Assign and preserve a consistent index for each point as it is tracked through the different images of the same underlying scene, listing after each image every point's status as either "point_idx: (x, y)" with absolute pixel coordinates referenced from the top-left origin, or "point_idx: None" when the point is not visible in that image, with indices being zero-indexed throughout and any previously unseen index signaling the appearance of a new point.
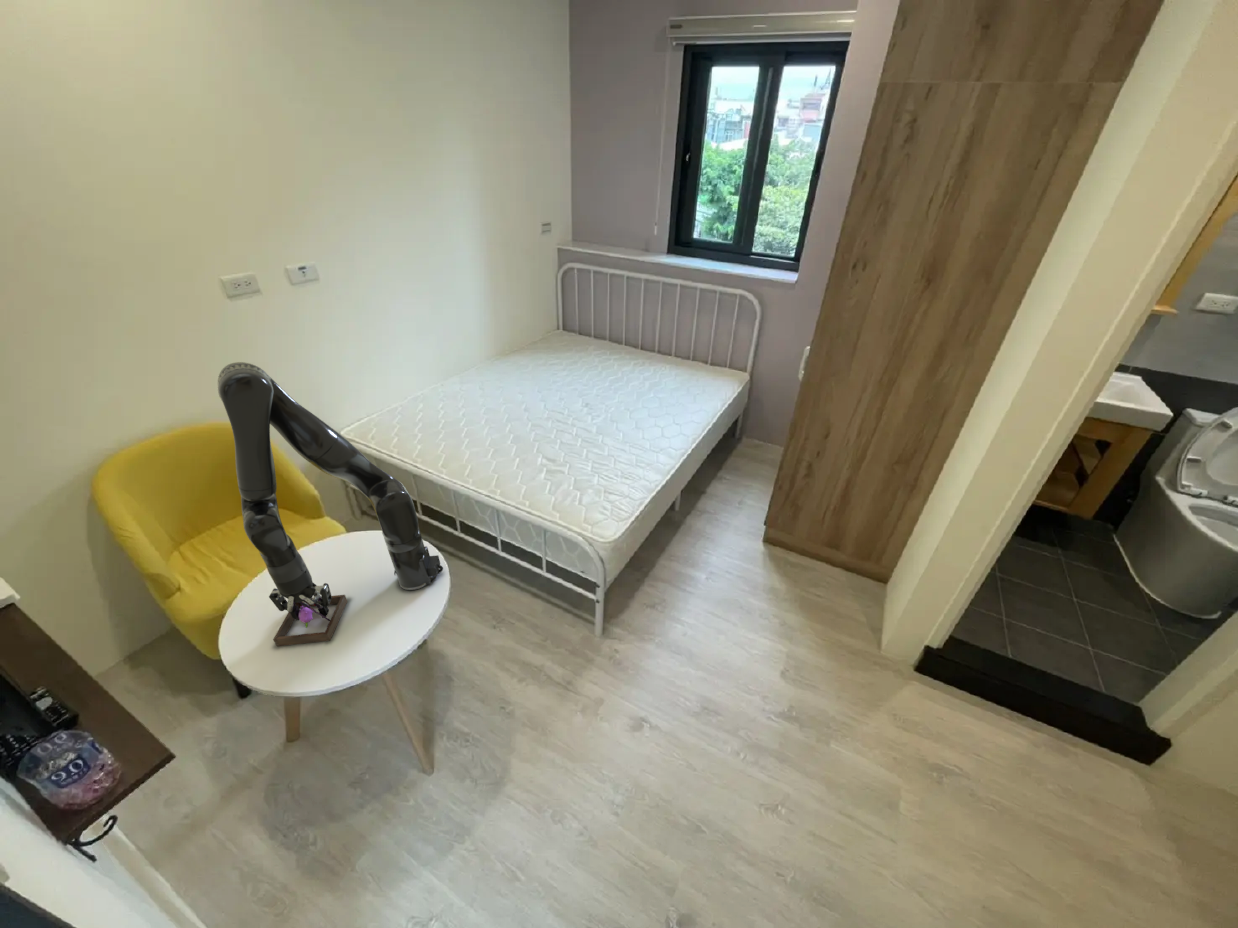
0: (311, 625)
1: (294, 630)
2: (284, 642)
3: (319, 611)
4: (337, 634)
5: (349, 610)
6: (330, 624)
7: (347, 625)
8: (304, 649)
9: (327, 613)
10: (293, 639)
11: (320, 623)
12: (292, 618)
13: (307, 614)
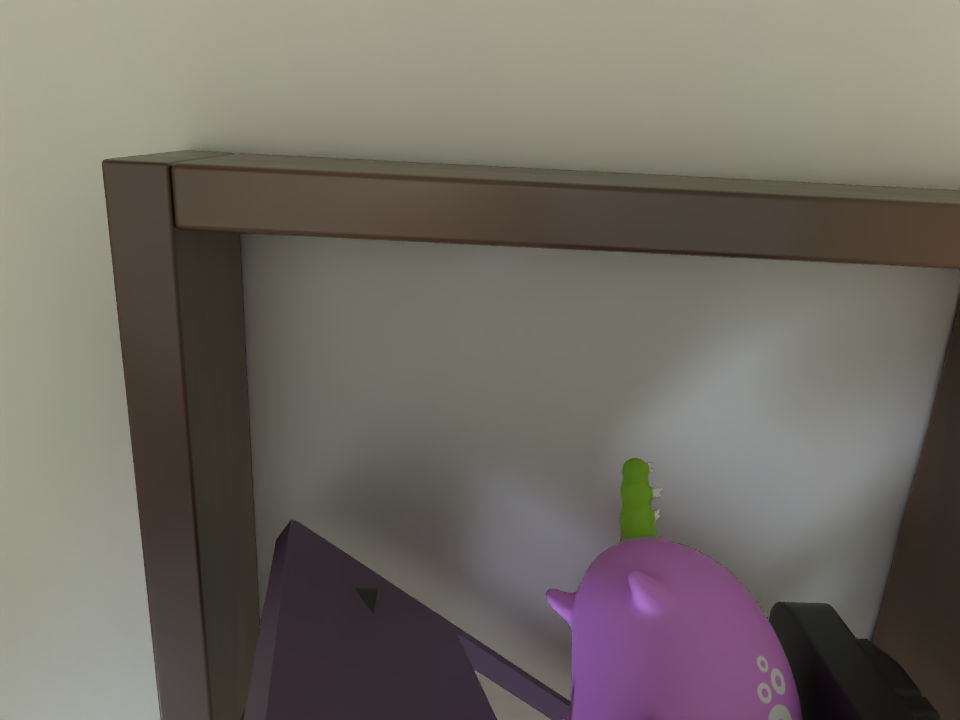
0: (595, 514)
1: (823, 466)
2: (936, 196)
3: None
4: None
5: (138, 679)
6: (145, 405)
7: (40, 421)
8: (565, 32)
9: None
10: (783, 191)
11: (473, 527)
12: None
13: (622, 687)
